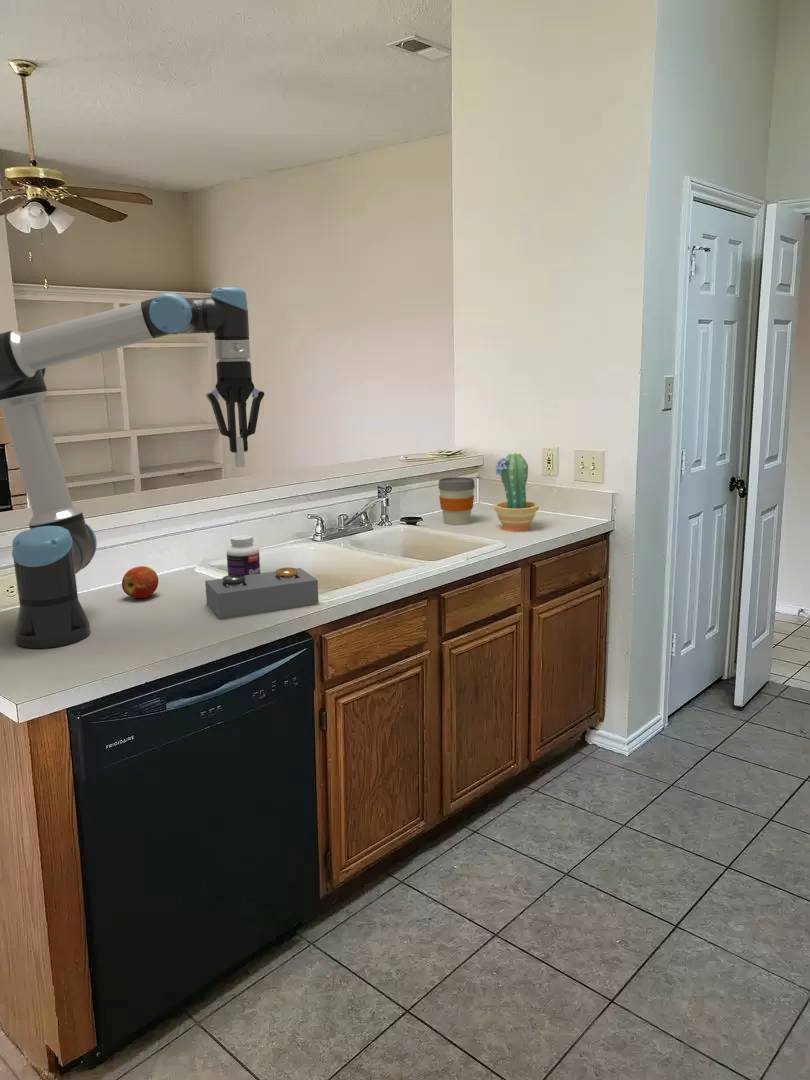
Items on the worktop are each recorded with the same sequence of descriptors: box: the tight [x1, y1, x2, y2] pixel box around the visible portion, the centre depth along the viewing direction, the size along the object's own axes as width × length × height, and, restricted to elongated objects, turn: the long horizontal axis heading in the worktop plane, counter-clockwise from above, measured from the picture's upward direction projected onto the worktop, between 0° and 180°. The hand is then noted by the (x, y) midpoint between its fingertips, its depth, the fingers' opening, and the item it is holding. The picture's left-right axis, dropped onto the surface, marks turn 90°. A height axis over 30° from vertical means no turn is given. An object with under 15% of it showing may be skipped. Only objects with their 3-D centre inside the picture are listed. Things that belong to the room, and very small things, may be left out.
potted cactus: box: [493, 453, 540, 532], centre depth 279 cm, size 15×15×25 cm
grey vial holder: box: [204, 567, 320, 620], centre depth 203 cm, size 24×13×6 cm, turn 115°
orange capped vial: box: [275, 567, 298, 581], centre depth 205 cm, size 5×5×8 cm
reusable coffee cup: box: [438, 476, 476, 526], centre depth 292 cm, size 13×13×15 cm
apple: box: [121, 565, 159, 599], centre depth 211 cm, size 8×8×8 cm
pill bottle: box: [226, 534, 261, 576], centre depth 212 cm, size 8×8×14 cm
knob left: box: [222, 574, 245, 588], centre depth 200 cm, size 5×5×8 cm
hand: (240, 466), depth 191 cm, fingers closed
